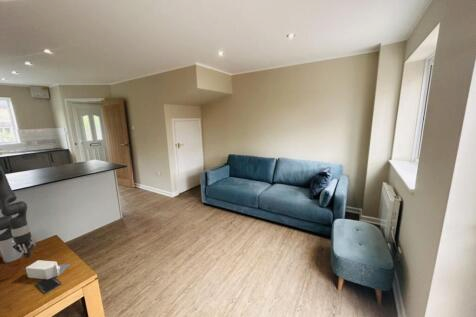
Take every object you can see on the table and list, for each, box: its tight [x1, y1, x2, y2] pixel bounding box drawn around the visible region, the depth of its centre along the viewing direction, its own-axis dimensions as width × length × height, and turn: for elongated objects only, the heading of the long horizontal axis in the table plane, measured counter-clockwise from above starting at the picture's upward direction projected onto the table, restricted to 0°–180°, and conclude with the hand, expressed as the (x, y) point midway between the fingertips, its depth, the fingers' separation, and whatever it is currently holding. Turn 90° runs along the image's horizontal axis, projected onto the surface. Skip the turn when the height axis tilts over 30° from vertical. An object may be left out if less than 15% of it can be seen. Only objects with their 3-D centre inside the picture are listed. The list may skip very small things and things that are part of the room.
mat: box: [57, 263, 72, 276], centre depth 130 cm, size 16×10×1 cm, turn 95°
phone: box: [35, 276, 62, 294], centre depth 118 cm, size 8×1×15 cm
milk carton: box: [25, 259, 60, 280], centre depth 125 cm, size 7×7×19 cm
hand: (28, 257), depth 126 cm, fingers closed
